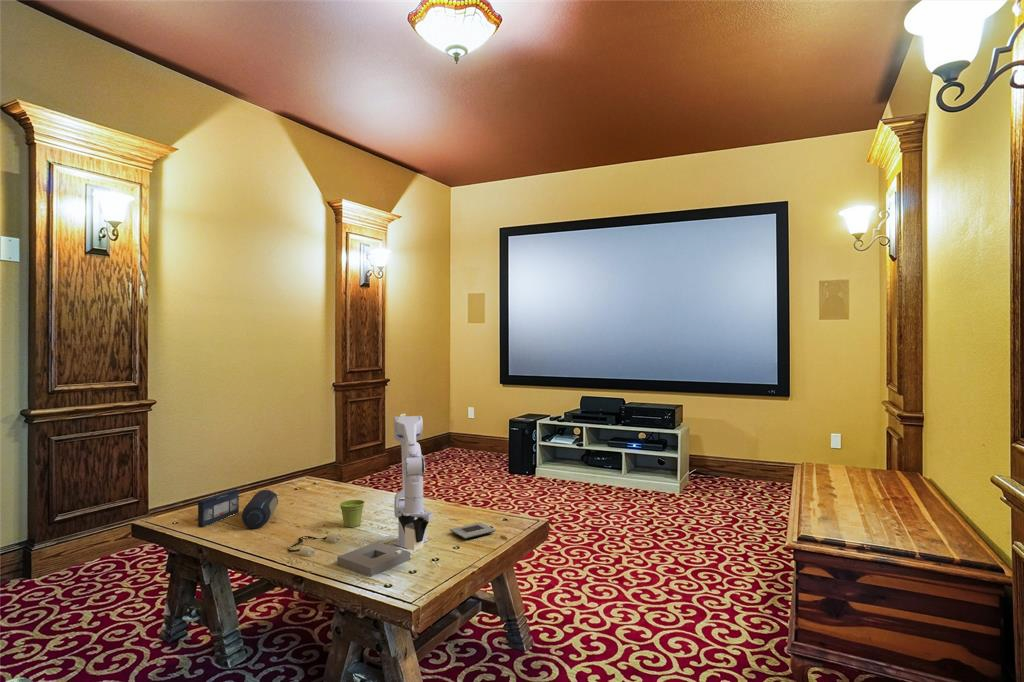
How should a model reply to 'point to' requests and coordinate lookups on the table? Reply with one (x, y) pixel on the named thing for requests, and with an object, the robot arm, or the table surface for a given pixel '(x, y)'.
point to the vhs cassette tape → (218, 507)
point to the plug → (411, 538)
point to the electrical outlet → (472, 530)
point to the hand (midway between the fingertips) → (414, 539)
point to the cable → (309, 550)
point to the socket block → (382, 562)
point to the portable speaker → (259, 509)
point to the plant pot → (352, 512)
